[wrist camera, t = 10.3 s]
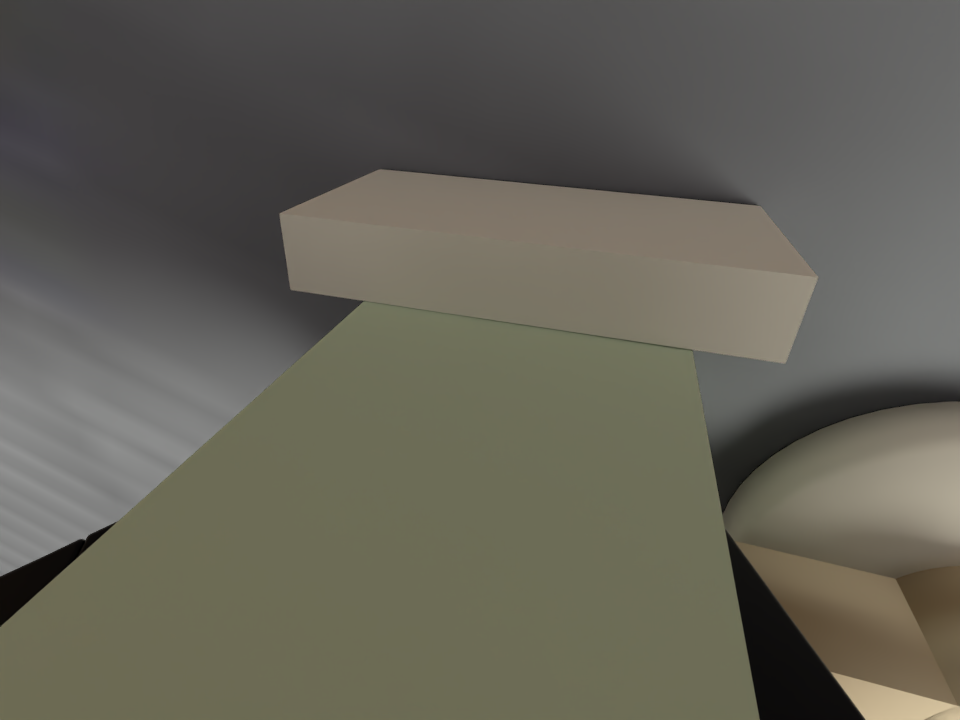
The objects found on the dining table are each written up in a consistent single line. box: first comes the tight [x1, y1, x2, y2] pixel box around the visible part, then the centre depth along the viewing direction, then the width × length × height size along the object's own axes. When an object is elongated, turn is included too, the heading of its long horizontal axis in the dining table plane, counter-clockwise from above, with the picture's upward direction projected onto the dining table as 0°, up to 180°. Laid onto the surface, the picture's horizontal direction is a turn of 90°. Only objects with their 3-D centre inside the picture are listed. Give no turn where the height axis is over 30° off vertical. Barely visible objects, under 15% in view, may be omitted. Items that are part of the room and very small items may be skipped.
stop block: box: [0, 301, 760, 720], centre depth 7 cm, size 4×4×8 cm
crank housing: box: [279, 169, 960, 579], centre depth 9 cm, size 14×10×3 cm
